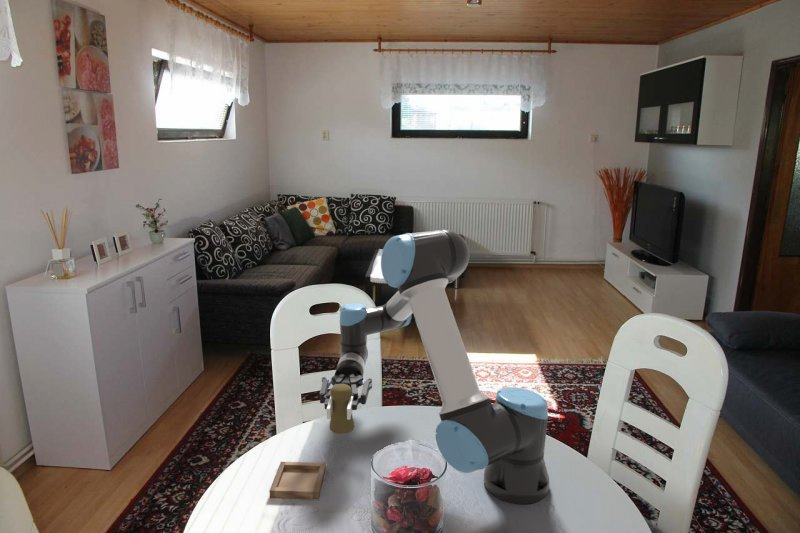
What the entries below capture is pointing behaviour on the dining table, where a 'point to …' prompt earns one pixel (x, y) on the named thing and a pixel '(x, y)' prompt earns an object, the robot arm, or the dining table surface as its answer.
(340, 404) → the cork
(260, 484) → the dining table surface
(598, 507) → the dining table surface
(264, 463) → the dining table surface
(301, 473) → the tray
